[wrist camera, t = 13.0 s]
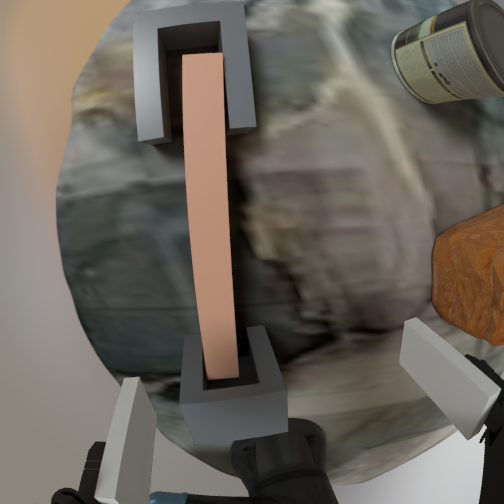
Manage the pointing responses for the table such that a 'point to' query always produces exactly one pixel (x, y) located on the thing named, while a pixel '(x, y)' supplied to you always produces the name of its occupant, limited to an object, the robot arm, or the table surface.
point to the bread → (472, 275)
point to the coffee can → (453, 54)
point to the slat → (209, 209)
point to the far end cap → (233, 394)
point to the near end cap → (185, 37)
